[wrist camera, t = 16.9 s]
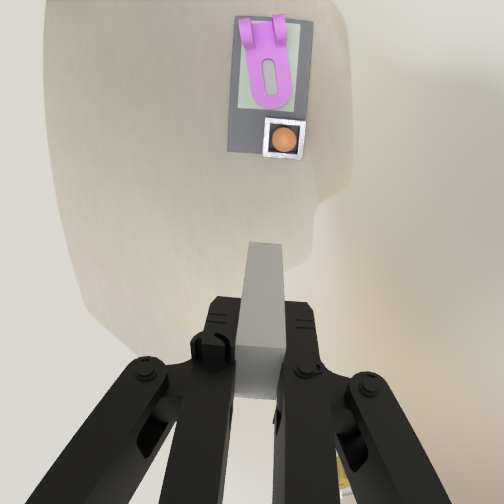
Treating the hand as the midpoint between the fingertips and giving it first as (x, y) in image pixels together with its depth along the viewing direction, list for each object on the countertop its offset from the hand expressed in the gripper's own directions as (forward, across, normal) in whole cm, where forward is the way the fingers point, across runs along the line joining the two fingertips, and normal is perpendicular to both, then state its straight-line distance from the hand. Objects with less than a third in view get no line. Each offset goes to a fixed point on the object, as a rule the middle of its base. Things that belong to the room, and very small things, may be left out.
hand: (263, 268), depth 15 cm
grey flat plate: (+34, 0, +9) cm, 36 cm away
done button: (+34, +2, +2) cm, 34 cm away
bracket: (+34, -1, +12) cm, 36 cm away
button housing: (+34, +2, +2) cm, 34 cm away
